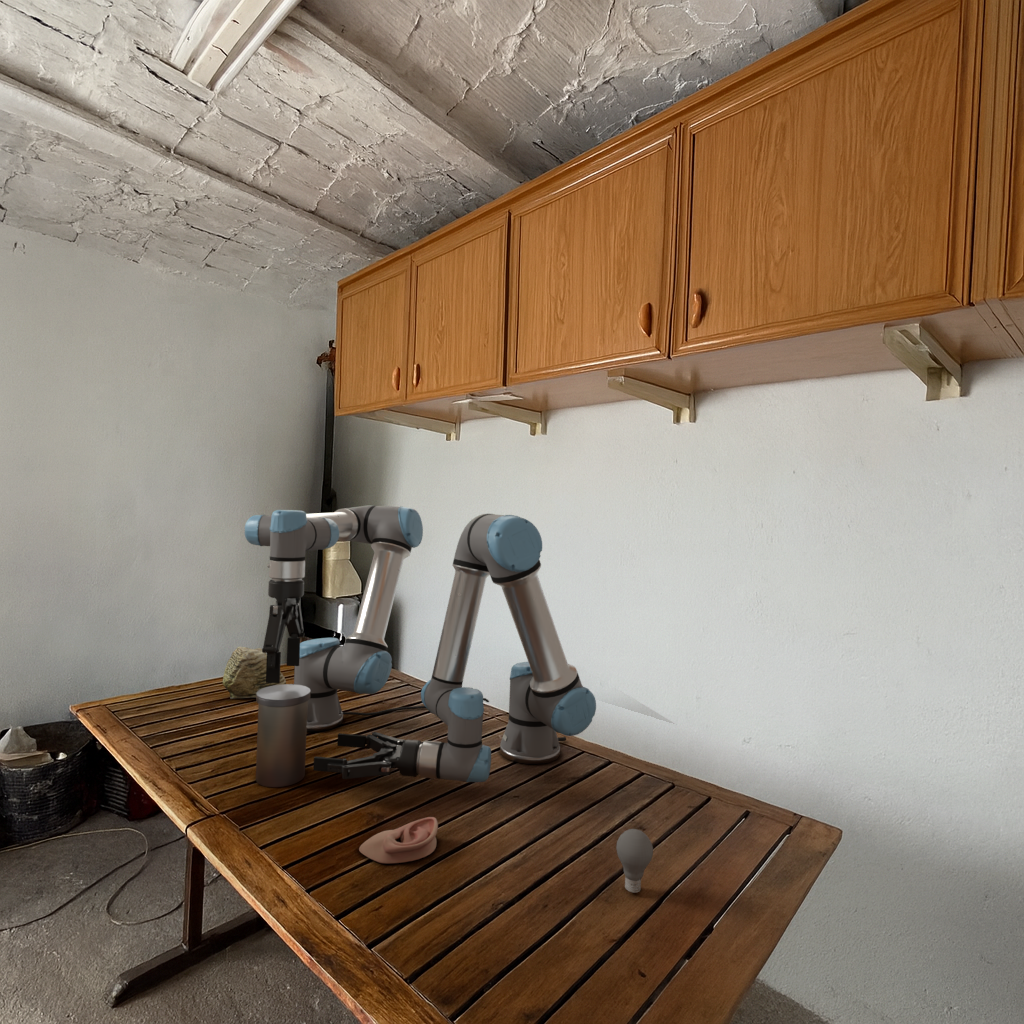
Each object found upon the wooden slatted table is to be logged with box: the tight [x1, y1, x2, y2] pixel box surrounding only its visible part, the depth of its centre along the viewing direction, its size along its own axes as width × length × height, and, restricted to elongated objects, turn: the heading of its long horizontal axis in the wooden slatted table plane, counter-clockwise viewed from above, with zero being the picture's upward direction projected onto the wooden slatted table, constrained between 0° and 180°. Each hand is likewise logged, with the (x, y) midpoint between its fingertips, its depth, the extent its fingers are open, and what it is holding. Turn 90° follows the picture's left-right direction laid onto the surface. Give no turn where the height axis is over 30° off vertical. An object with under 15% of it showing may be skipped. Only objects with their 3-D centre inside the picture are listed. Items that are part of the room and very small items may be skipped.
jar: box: [255, 701, 308, 788], centre depth 142 cm, size 10×10×19 cm
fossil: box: [222, 646, 287, 699], centre depth 198 cm, size 9×18×15 cm, turn 132°
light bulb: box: [615, 828, 654, 894], centre depth 106 cm, size 6×6×10 cm
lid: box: [255, 683, 310, 707], centre depth 142 cm, size 11×11×2 cm
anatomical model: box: [358, 816, 439, 864], centre depth 116 cm, size 13×4×12 cm
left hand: (283, 673), depth 142 cm, fingers open, 13 cm apart
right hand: (326, 750), depth 141 cm, fingers open, 13 cm apart
